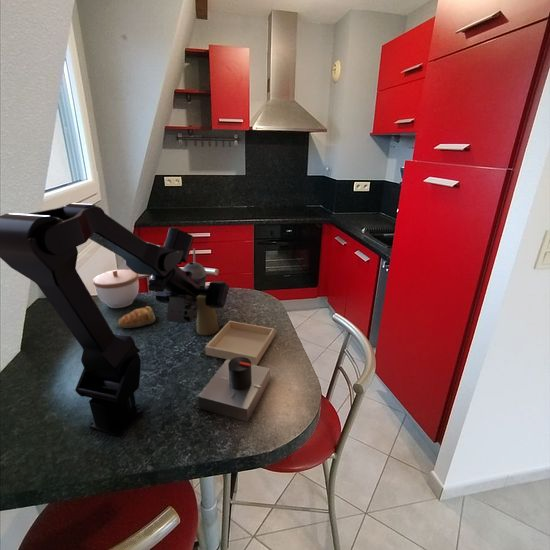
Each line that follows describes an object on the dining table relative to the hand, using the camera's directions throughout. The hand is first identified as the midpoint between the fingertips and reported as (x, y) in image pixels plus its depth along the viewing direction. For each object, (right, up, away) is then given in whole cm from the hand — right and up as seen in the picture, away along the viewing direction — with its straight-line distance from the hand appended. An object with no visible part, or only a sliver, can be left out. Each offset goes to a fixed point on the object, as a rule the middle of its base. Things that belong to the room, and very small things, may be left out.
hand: (207, 303), depth 87 cm
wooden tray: (+10, -10, -6) cm, 15 cm away
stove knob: (+12, -13, -23) cm, 29 cm away
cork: (0, -7, +1) cm, 7 cm away
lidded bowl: (-31, -1, +16) cm, 35 cm away
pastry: (-20, -6, +5) cm, 21 cm away
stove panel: (+11, -16, -22) cm, 29 cm away
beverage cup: (-5, -3, +11) cm, 12 cm away
